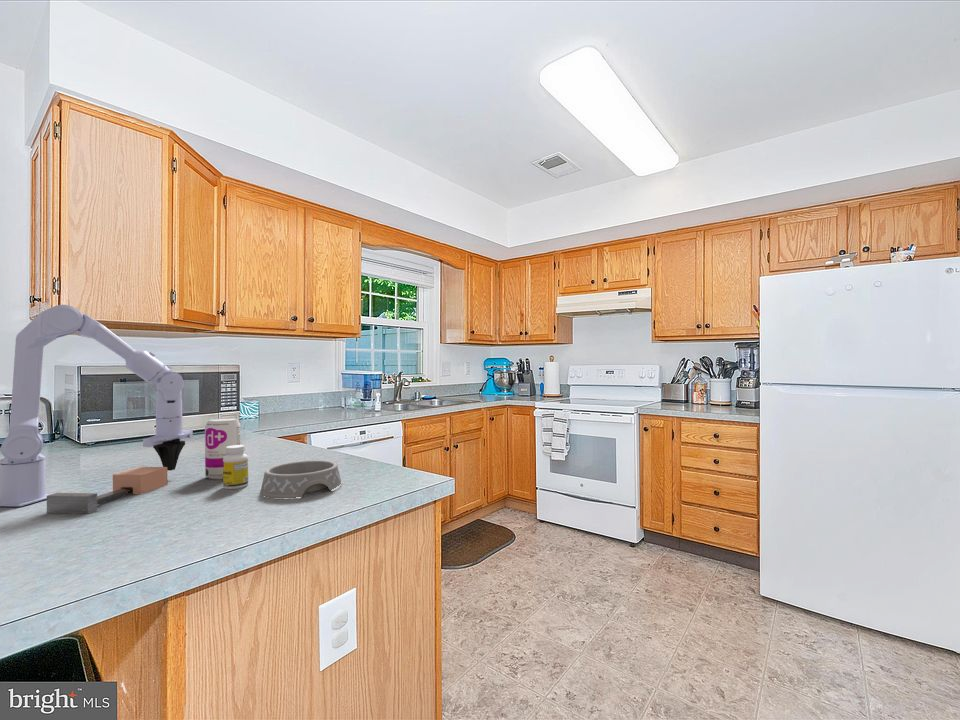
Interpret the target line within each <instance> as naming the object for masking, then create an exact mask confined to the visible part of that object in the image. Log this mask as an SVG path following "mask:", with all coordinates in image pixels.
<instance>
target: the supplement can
mask: <svg viewBox="0 0 960 720" xmlns="http://www.w3.org/2000/svg"><path fill="white" fill-rule="evenodd" d="M241 429H242V427H241V422H240V420H239V419H238V418H237V417H236V418H235V417H224V418H212V419H208V420H207V422H206V424H205V425H204V459H205V460H204V464H205V465H204V469H205V470H204V473H205V474H204V475H205V477H207V478H208V479H210V480H223V458H224V457H225V456H227V453H226V447H227V446H232V445H242V444H241V443H242V439H241V437H242V436H241V434H242V433H241Z"/></svg>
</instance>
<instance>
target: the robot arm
mask: <svg viewBox="0 0 960 720" xmlns="http://www.w3.org/2000/svg"><path fill="white" fill-rule="evenodd" d="M76 332H78V334H77V337H82V338H83V337H84V338H88V339H93V340H95V341H96V342H98V343H99V344H101V345H103V346H104V347H106V348H107V349H109V350H111V351H112V352H114V353H115V354H116V355H118V356H119V357H121V358H122V359H124V361H125V367H126V368H127V369H128V370H129V371H130V372H132V373H133V374H135V375H136V376H138V377H140V379H142V380H144V381H145V382H147V383H148V384H153V388H154V389H155V390H156V399H155V435H152V436H150V437H146V438H143V439H142V447H143V448H148V447H149V448H151V447H152V448H153V450H155V452H156V453H157V455H158V457H159V459H160V462H161V464H162V467H167V471H168V472H169V471H174V470H175V469H176V467H177V463H178V460H179V457H180V455H181V452H182V451H183V448H184V447H185V445H186V440H184V439H190V438H193V437H194V436H193V435H194V432H193V431H194V430H192V429H191V430H190V429H189V430H188V429H187V430H183V398H182V395H183V394H182V393H183V392H182V391H183V389H184V387H185V381H184V379H183V376H182V375H181V374H180V373H178V372H176V371H173V370H171V369H172V366H171V365H169V364H167V365H166V364H165V363H163V362H162V361H160V360H159V359H157V357H156V353H154V352H152V351H149V352H148V351H147V350H143V349H142V350H140V349H139V350H136V349H134V348H133V347H132V346H131V345H130V344H128V343H127V342H125V341H124V340H123V339H121V338H120V337H119V336H118V335H117V334H115V333H113V331H111V330H110V329H109V328H108V327H106V326H105V325H104V324H102V323H100V322H99V321H97V320H96V319H94V318H93V317H91V316H89V315H88V314H86V313H83V314H82V312H81V311H80V310H79V309H78V308H76V307H74V306H71V305H67V304H57V305H55V306H52V307H50V308H47V309H44V310H43V311H41V312H39V314H37V316H35V318H34V319H32V320H31V321H30V322H29V323H28V324H27V325H26V326H25V327H24V328H23V329H21V330H20V331H19V332H18V333H17V335H16V337H15V346H14V361H13V375H12V376H13V378H12V391H11V403H10V404H11V405H10V406H11V407H10V419H9V426H8V434H7V436H6V437H5V439H4V440H3V441H2V444H1V447H0V452H1V455H2V456H3V458H1V459H0V507H16V508H17V507H23V506H27V505H30V504H34V503H38V502H41V501H45V500H47V495H51V494H52V493H47V479H46V477H47V476H46V475H47V469H46V467H47V463H46V461H47V460H46V459H47V457H46V455H44V454H42V453H41V452H42V450H43V447H44V446H43V445H44V438H43V437H44V436H43V435H42V434H41V432H40V428H39V421H40V418H39V417H40V405H41V404H40V403H41V391H42V389H41V388H42V377H43V376H42V374H43V373H42V372H43V359H44V358H43V357H44V347H45V346H47V345H49V344H50V343H52V342H54V341H56V340H57V339H58V338H62V337H65V336H69V335H72V334H74V333H76Z"/></svg>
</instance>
